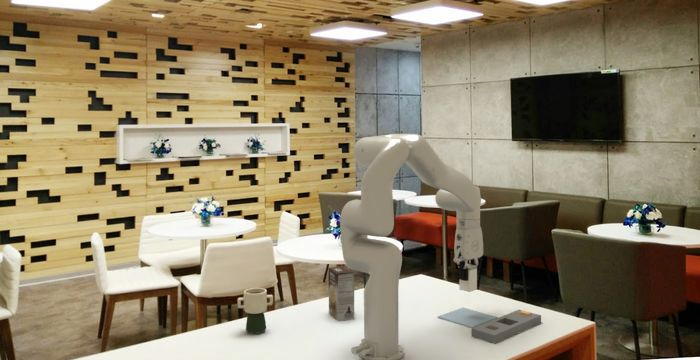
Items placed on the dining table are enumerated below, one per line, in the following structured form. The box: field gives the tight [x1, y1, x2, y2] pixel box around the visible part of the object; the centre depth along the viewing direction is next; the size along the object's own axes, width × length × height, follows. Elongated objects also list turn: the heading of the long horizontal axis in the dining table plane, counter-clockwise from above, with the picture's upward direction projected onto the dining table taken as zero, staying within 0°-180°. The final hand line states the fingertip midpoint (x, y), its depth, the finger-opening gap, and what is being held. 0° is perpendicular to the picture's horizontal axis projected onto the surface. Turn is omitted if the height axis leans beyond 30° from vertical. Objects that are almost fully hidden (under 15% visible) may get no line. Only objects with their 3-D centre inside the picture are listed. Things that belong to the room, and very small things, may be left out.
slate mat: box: [437, 307, 499, 329], centre depth 183 cm, size 14×14×1 cm
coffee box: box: [328, 265, 355, 322], centre depth 185 cm, size 9×6×16 cm
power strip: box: [470, 309, 542, 345], centre depth 172 cm, size 26×8×3 cm, turn 132°
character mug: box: [237, 287, 274, 334], centre depth 172 cm, size 11×7×13 cm, turn 108°
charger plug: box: [458, 263, 478, 293], centre depth 182 cm, size 4×4×8 cm
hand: (468, 278), depth 182 cm, fingers closed on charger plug, 4 cm apart
